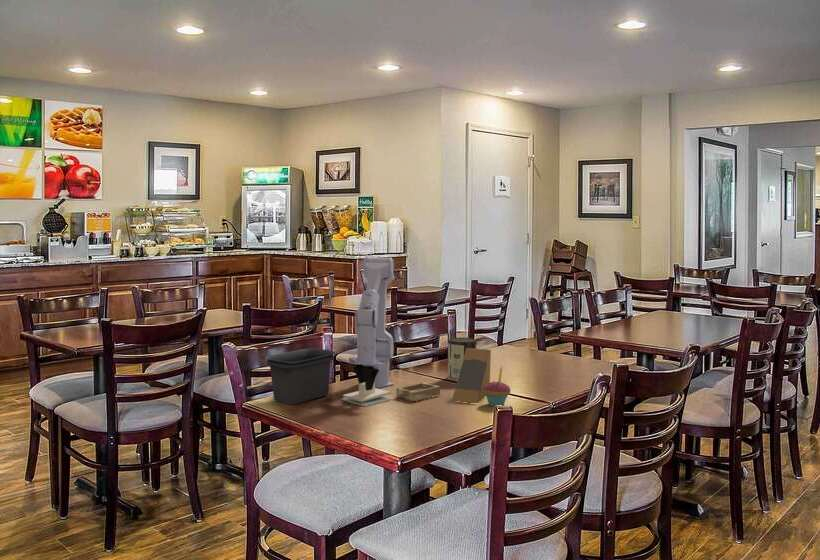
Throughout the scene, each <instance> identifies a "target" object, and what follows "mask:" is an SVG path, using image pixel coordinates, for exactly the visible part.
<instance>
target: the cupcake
mask: <svg viewBox="0 0 820 560" xmlns="http://www.w3.org/2000/svg"><path fill="white" fill-rule="evenodd" d="M502 372H503V366H502V365H501V366H500V369H499V373H498V381H492V382H491V381H490V383H489V384H487V385H486V386H484V388H483V394H485V395H486V400H487V403H488V405H489V404H490V405H493V406H492V407H496V406H495V405H503V406H505V403H506V400H507V397H508V396H509V395H510V394H511V388H510V386H509V385H508V384H506V383H504V382H503V381H501V380H502ZM490 405H489V406H490Z"/></svg>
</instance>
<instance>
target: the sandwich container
mask: <svg viewBox="0 0 820 560" xmlns="http://www.w3.org/2000/svg"><path fill="white" fill-rule="evenodd" d="M491 351H492V350H491V349H486V348H485V349H483V348H477V347H476V348H466V351H465V355H464V360H463V363H462V367H461V371H460V374H459V378H458V381H456V386H455V389H454V393H453V395H452V398H451V402H452V401H460V402H467V403H478V402H479V401H480V402H482V401H483V400H484V399H485V398H484V397H485V396H486V395H485V394H483V388H484V386H486V385H487V384H489V383H491V357H492V356H491ZM483 398H484V399H483ZM482 399H483V400H482ZM481 400H482V401H481ZM480 402H479V403H480ZM479 403H478V404H479Z"/></svg>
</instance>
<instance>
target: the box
mask: <svg viewBox="0 0 820 560" xmlns="http://www.w3.org/2000/svg"><path fill="white" fill-rule="evenodd" d="M395 394H396V398H397V397H399V398H398V399H401V398H403V399H402V400H405V399H407V400H406V401H409V400H411V401H410V402H413V401H416V402H419V401H418V400H420V401H422V400H421V399H424V398H428V397H432V396H436V395H440V396H441V386H440V385H435V384H431V383H426V382H418V383H414V384H409V385H405V386H401V387H397V388H396V393H395ZM436 397H437V396H436ZM432 398H433V397H432ZM428 399H429V398H428ZM424 400H425V399H424Z"/></svg>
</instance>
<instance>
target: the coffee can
mask: <svg viewBox="0 0 820 560" xmlns="http://www.w3.org/2000/svg"><path fill="white" fill-rule="evenodd" d="M447 342H448V344H447V345H448V347H447V351H448V352H447V356H448V357H447V379H448V380H450V381H454V380H455V381H454V382H457V381H458V378H459V374H460V371H461V367H462V363H463V360H464V355H465V351H466V348H476V349H477V342H478V340H477V339H475V338H471V337H451V338H448V339H447Z"/></svg>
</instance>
